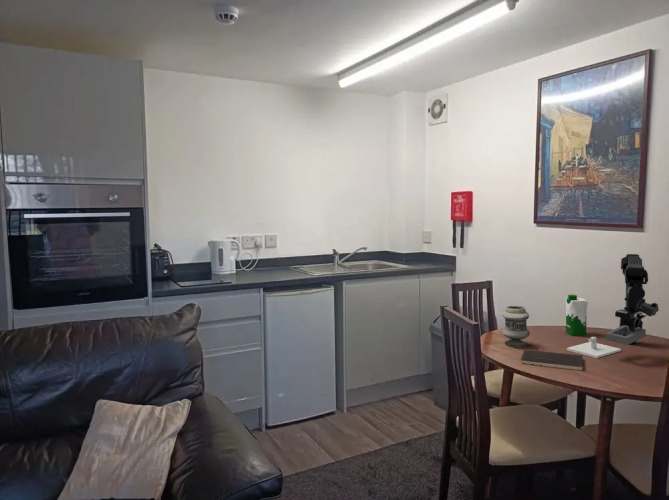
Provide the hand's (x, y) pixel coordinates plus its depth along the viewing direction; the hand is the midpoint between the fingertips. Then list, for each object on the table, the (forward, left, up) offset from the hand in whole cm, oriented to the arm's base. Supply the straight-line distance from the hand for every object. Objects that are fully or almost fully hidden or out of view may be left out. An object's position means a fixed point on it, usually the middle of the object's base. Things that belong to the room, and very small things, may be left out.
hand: (633, 331), depth 202 cm
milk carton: (-12, -34, -11) cm, 38 cm away
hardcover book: (+35, -14, -11) cm, 40 cm away
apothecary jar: (+27, -39, -11) cm, 49 cm away
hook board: (+7, -13, -10) cm, 18 cm away
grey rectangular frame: (+6, 0, -2) cm, 6 cm away
